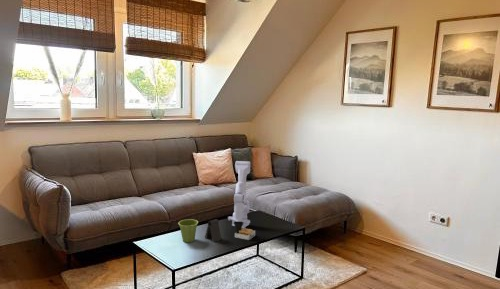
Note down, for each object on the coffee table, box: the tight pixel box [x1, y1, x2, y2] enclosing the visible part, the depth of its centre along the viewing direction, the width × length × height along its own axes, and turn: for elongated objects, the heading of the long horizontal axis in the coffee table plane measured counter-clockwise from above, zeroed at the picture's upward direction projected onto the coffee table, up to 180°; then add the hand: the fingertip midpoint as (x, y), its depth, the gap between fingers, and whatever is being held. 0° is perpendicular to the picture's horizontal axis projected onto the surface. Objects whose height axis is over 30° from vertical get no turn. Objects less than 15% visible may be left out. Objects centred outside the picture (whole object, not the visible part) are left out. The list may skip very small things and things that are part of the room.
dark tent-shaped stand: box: [204, 218, 222, 243], centre depth 224 cm, size 9×6×12 cm, turn 46°
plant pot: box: [178, 218, 199, 243], centre depth 221 cm, size 12×12×11 cm
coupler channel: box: [234, 230, 256, 241], centre depth 230 cm, size 10×9×3 cm
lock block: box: [239, 227, 254, 235], centre depth 230 cm, size 7×5×4 cm
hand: (238, 232), depth 232 cm, fingers closed
